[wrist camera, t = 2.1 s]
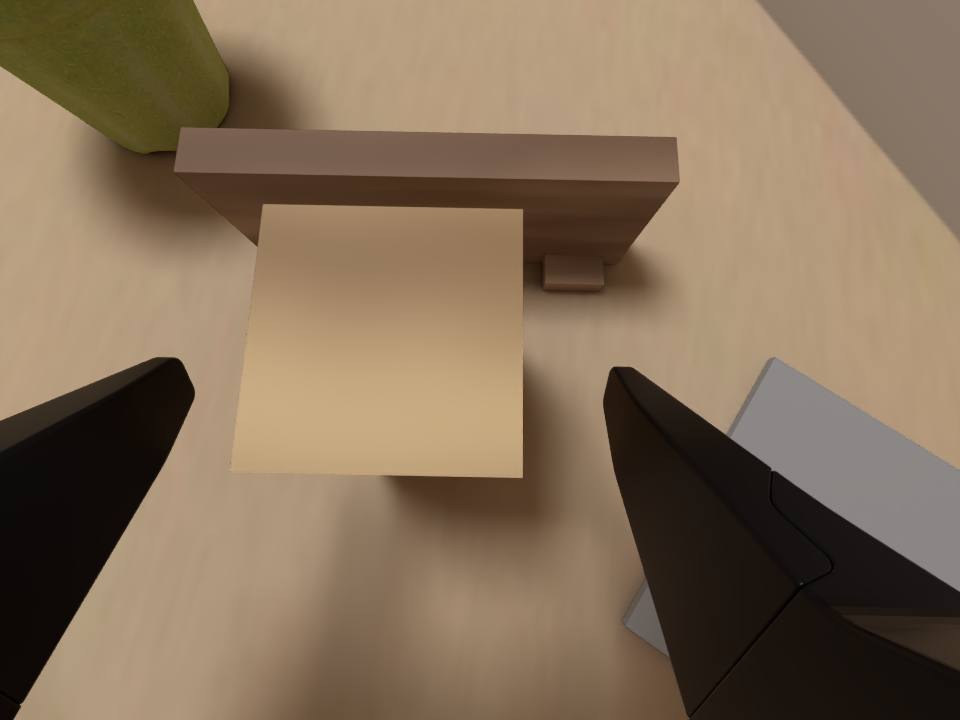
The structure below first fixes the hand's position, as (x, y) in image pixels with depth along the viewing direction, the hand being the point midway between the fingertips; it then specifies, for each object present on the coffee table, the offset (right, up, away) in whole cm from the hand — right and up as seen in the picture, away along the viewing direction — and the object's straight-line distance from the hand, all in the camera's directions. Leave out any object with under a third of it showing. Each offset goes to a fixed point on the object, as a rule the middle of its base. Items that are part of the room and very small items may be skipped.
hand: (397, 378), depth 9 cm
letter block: (0, -1, +9) cm, 9 cm away
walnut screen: (0, +5, +10) cm, 11 cm away
